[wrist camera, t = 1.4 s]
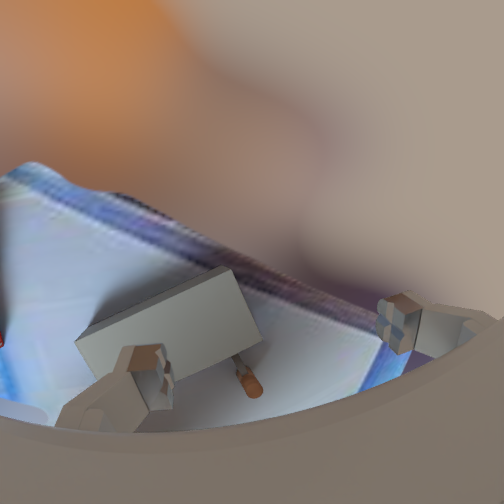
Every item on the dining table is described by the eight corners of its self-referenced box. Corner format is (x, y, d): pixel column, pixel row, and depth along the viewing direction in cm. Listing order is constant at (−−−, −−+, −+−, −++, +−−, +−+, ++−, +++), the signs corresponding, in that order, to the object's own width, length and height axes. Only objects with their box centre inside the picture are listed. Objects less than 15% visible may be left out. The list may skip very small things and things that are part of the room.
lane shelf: (249, 325, 45) (263, 340, 38) (121, 383, 39) (115, 405, 32) (221, 264, 44) (231, 269, 37) (87, 327, 38) (74, 342, 31)
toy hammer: (259, 371, 46) (272, 390, 39) (233, 384, 45) (243, 404, 38) (222, 296, 44) (231, 306, 37) (194, 310, 43) (198, 322, 36)
